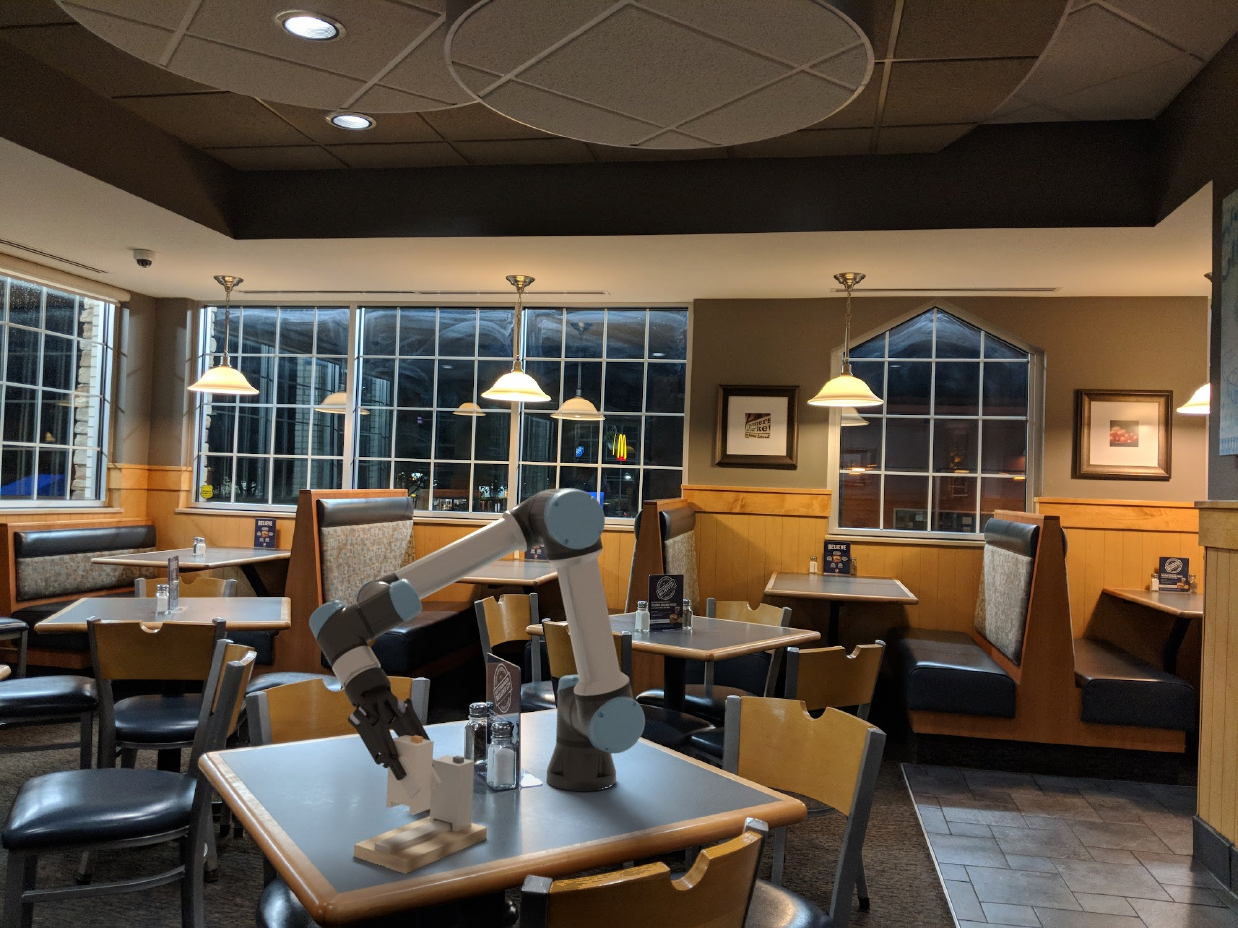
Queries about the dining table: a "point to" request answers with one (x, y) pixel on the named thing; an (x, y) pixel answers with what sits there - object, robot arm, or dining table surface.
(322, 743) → the dining table surface
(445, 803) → the fitted module
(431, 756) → the block
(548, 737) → the dining table surface
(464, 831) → the rail board
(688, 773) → the dining table surface
